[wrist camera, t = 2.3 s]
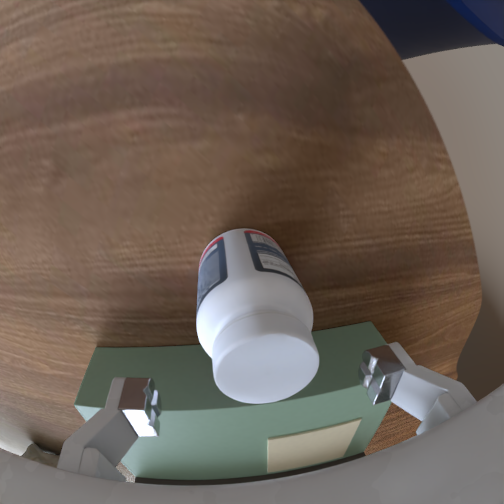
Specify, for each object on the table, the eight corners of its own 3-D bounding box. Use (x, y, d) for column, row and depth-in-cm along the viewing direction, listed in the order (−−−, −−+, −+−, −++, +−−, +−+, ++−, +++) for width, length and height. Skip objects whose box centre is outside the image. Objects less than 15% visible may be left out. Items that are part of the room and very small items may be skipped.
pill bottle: (212, 309, 19) (217, 422, 11) (188, 239, 17) (169, 339, 9) (290, 290, 19) (336, 393, 11) (276, 216, 17) (332, 299, 9)
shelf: (95, 346, 19) (54, 466, 9) (370, 320, 21) (442, 423, 11) (145, 436, 25) (138, 522, 15) (342, 415, 27) (375, 495, 17)
